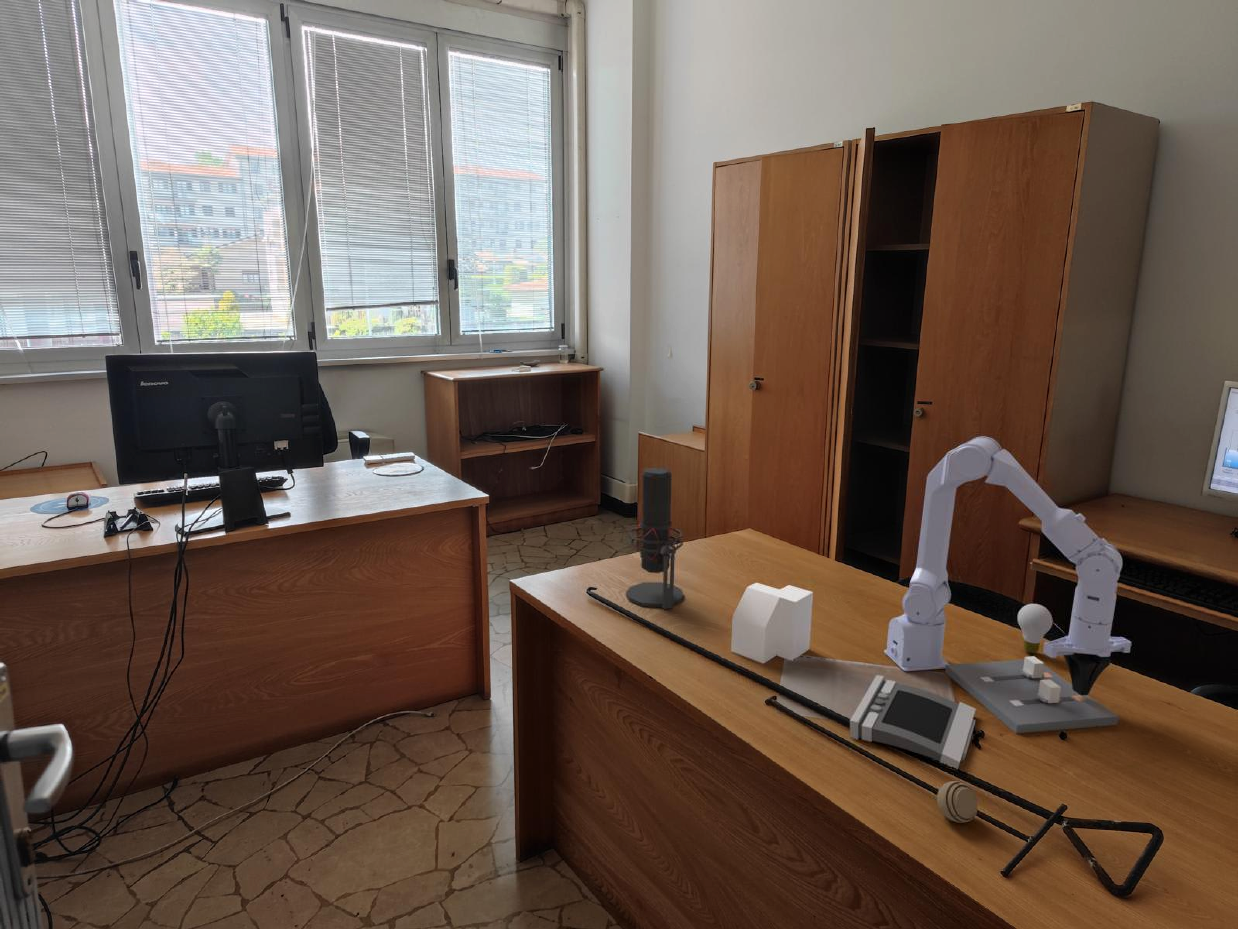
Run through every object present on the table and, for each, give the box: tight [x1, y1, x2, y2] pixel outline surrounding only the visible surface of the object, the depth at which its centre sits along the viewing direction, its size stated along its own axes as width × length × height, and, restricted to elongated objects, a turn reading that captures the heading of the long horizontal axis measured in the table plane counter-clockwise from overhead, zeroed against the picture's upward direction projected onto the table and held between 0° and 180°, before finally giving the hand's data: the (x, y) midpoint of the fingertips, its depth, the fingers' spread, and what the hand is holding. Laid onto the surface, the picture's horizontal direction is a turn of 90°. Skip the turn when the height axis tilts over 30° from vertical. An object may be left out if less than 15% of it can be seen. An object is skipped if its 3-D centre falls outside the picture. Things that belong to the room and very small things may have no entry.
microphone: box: [625, 467, 685, 610], centre depth 169 cm, size 14×13×30 cm
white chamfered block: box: [730, 582, 814, 664], centre depth 145 cm, size 11×11×12 cm
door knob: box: [936, 780, 979, 824], centre depth 99 cm, size 5×5×5 cm
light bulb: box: [1017, 603, 1053, 655], centre depth 145 cm, size 6×6×10 cm
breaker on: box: [1021, 655, 1045, 678], centre depth 134 cm, size 3×3×3 cm
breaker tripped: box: [1036, 679, 1061, 703], centre depth 125 cm, size 3×3×3 cm
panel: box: [944, 659, 1119, 734], centre depth 130 cm, size 18×20×2 cm
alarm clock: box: [849, 674, 977, 770], centre depth 120 cm, size 17×5×16 cm
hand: (1080, 692), depth 126 cm, fingers closed
